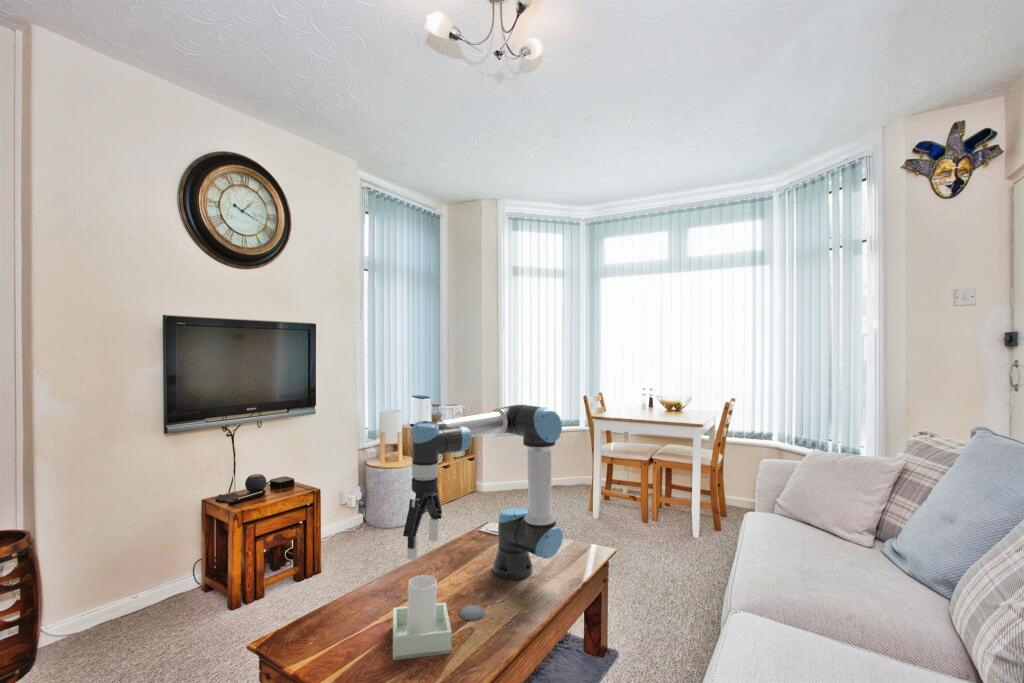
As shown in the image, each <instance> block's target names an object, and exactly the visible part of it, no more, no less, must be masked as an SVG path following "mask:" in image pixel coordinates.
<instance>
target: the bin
mask: <svg viewBox="0 0 1024 683" xmlns="http://www.w3.org/2000/svg"><path fill="white" fill-rule="evenodd" d="M447 606H448V605H447V602H439V603H438V602H436V623H435V632H428V633H419V634H410V635H407V613H408V605H407V606H399V607H398V606H397V607H393V608H392V661H399V660H405V659H415V658H423V657H431V656H438V655H440V656H441V655H447V654H448V655H449V654H452V637H453V636H452V634H453V633H452V626H451V623H450V617H449V612H448V607H447Z"/></svg>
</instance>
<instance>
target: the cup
mask: <svg viewBox="0 0 1024 683" xmlns="http://www.w3.org/2000/svg"><path fill="white" fill-rule="evenodd" d="M437 582H438V581H437V578H436V577H435V576H433V575H430V574H429V575H428V574H420V575H419V574H418V575H416V576H414V577H413V576H412V577H411V578H410V579H409V580H408V586H407V587H408V590H407V606H408V613H407V635H410V634H419V633H428V632H435V623H436V603H437V590H438V589H437V588H438V587H437V586H438V585H437V584H438V583H437Z"/></svg>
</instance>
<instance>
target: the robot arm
mask: <svg viewBox="0 0 1024 683" xmlns="http://www.w3.org/2000/svg"><path fill="white" fill-rule="evenodd" d="M562 423H563V422H562V419H561V417H560V415H559V414H558V413H557V412H556V410H553V409H552V408H548V407H544V406H543V407H542V406H535V405H529V404H528V405H527V404H514V405H508V406H504V407H497V408H494V409H492V411H490V412H483V413H477V414H476V413H475V414H472V415H466V416H465V415H464V416H458V417H452V418H446V419H445V418H444V419H440V420H434V421H433V420H432V421H428V420H419V421H417V422H415V423H414V424H413V426H412V428H411V431H410V432H411V433H410V434H411V442H412V443H411V444H412V447H411V452H412V454H411V459H412V460H411V463H412V464H411V476H412V478H411V491H412V492H413V493H414V494H415V496H414V497H415V498H414V499H412V498H411V499H410V500H409V503H408V512H407V514H406V515H407V516H406V520H405V524H404V525H405V526H404V529H403V534H402V536H403V537H404V538H405V537H407V548H406V550H407V551H406V552H407V553H406V558H407V559H408V560H414V561H417V560H418V539H419V538H418V535H417V533H418V530H419V527H420V524H421V521H422V517H423V515H424V514H425V513H426V511H427V512H428V515H429V516H430V518H429V519H428V541H431V542H438V541H439V519H440V520H441V519H442V517H443V515H442V513H443V510H442V507H441V502H440V498H439V497H440V496H439V488H438V484H439V483H438V480H439V479H438V476H439V456H440V455H446V454H452V453H460V452H462V451H466V450H468V449H470V447H471V446H472V443H473V441H472V440H473V438H474V437H479V436H483V435H489V434H493V433H495V434H497V435H504V434H508V435H509V434H510V435H516V436H520V437H522V438H523V440H522V444H523V446H524V447H525V448H526V449H527V491H528V492H527V506H528V508H527V509H526V508H522V507H514V508H508V509H505V510H503V511H501V512H500V513H499V515H498V524H497V526H498V530H497V532H498V533H497V534H498V536H497V538H498V540H497V545H498V547H497V551H496V554H495V557H494V561H493V565H492V567H493V568H492V571H493V573H494V574H495V575H496V576H498V577H499V578H502V579H507V580H519V579H520V580H522V579H525V578H528V577H530V576H531V575H532V573H533V563H532V560H531V556H530V555H531V554H532V555H535V557H538V558H543V559H547V560H549V559H551V558H552V557H554V556H555V555H556V554H557V553H558V551H559V550H560V548H561V547H562V543H563V540H564V535H563V531H562V530H563V529H562V530H561V528H560V527H558V526H557V518H556V517H557V516H555V515H554V513H552V512H553V511H552V510H553V509H552V507H553V505H552V504H553V503H552V496H553V495H552V494H553V493H552V449H553V448H554V447H555V445H556V441H557V440H559V439H560V435H561V434H562V431H563V425H562Z"/></svg>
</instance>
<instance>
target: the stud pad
mask: <svg viewBox="0 0 1024 683" xmlns="http://www.w3.org/2000/svg"><path fill="white" fill-rule="evenodd" d="M485 613H486V611H485V609H484V608H483V607H482V606H480V605H477V604H476V605H475V604H469V605H466V606H463V607H462V608H461V609H460V610H459V616H460V618H461V619H463V620H465V621H478V620H480V619H482V618H483V617H484V616H485Z"/></svg>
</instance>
